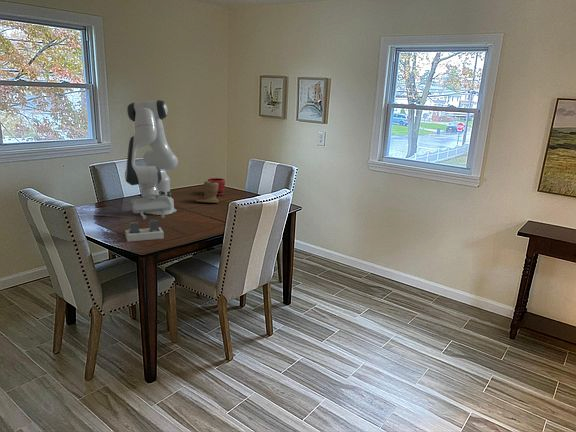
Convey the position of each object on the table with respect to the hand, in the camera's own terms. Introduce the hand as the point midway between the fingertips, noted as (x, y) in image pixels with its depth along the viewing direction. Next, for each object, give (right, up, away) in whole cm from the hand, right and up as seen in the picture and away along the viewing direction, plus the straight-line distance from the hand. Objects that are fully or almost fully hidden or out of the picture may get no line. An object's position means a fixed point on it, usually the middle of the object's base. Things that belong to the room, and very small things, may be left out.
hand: (154, 218), depth 231 cm
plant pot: (+17, +17, +99) cm, 102 cm away
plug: (0, -10, -1) cm, 10 cm away
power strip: (-6, -9, +1) cm, 11 cm away
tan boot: (+15, +11, +76) cm, 78 cm away
